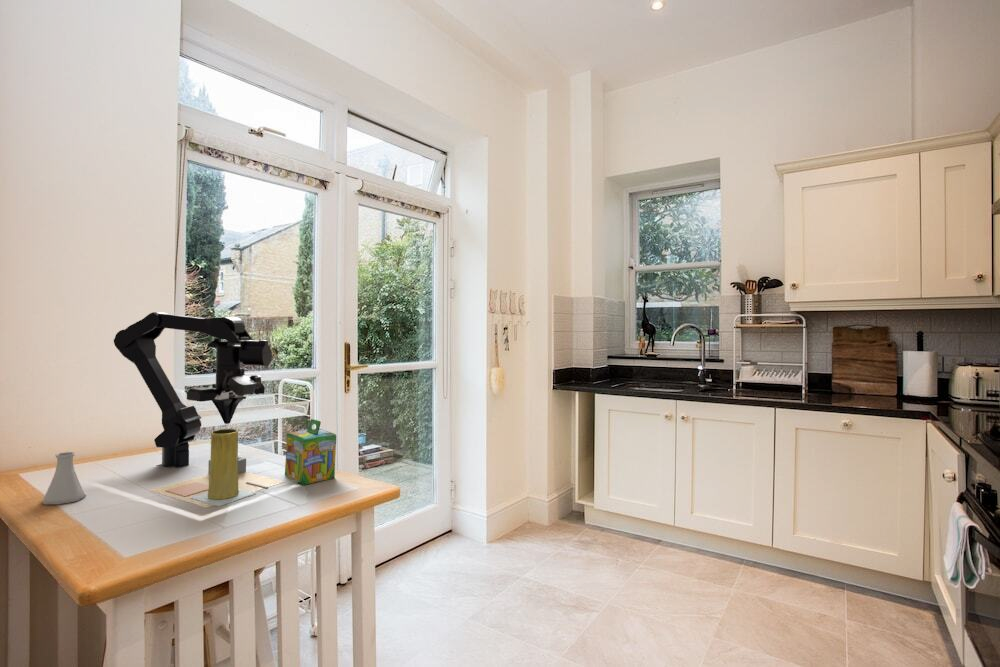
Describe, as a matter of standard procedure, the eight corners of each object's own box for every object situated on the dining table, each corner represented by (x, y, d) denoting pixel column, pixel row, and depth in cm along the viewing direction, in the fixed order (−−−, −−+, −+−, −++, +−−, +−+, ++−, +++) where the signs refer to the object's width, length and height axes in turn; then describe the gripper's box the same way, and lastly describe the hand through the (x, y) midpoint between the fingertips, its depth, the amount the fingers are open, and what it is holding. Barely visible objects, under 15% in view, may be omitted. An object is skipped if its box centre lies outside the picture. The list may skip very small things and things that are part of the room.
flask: (36, 507, 105) (37, 459, 104) (48, 496, 111) (49, 450, 111) (81, 503, 108) (81, 456, 108) (90, 492, 114) (90, 448, 114)
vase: (201, 499, 110) (202, 433, 109) (217, 489, 116) (218, 427, 115) (229, 500, 110) (231, 434, 109) (244, 491, 116) (245, 428, 115)
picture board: (149, 493, 115) (149, 489, 115) (230, 471, 133) (230, 467, 133) (211, 512, 105) (211, 507, 105) (289, 485, 123) (289, 481, 123)
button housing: (208, 474, 127) (208, 460, 127) (230, 468, 133) (230, 455, 132) (224, 478, 125) (224, 464, 124) (245, 472, 130) (246, 458, 130)
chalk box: (283, 477, 129) (285, 419, 129) (317, 470, 136) (318, 415, 136) (302, 486, 123) (303, 425, 123) (336, 478, 130) (337, 421, 130)
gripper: (215, 369, 122) (213, 434, 123) (279, 364, 139) (278, 421, 139) (185, 366, 127) (184, 428, 127) (251, 361, 144) (250, 416, 144)
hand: (227, 423), depth 134 cm, fingers closed
